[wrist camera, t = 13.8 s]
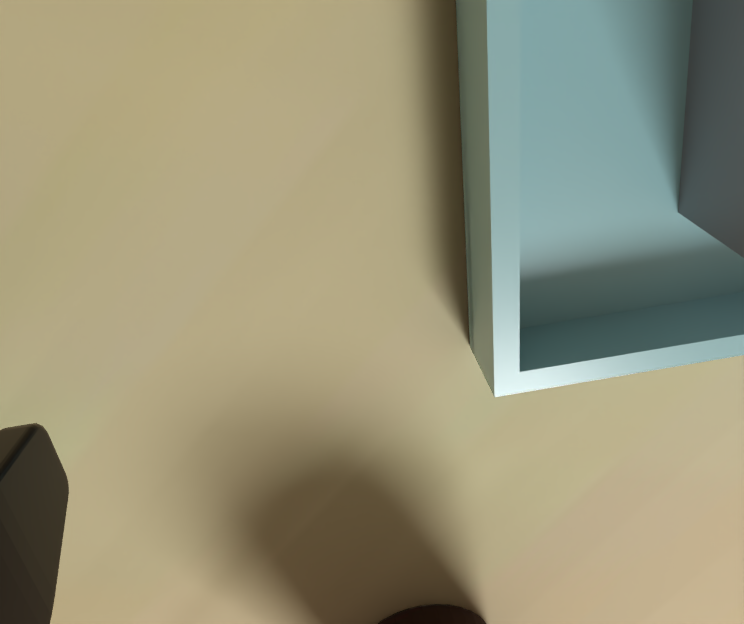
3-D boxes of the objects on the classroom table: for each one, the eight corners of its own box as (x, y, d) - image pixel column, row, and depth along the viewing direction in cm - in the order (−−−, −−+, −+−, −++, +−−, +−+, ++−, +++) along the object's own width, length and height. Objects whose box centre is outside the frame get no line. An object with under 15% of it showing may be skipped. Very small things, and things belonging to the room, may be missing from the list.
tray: (469, 346, 24) (494, 397, 21) (449, -155, 17) (482, -170, 14) (862, 281, 25) (931, 323, 22) (1005, -220, 18) (1133, -245, 15)
